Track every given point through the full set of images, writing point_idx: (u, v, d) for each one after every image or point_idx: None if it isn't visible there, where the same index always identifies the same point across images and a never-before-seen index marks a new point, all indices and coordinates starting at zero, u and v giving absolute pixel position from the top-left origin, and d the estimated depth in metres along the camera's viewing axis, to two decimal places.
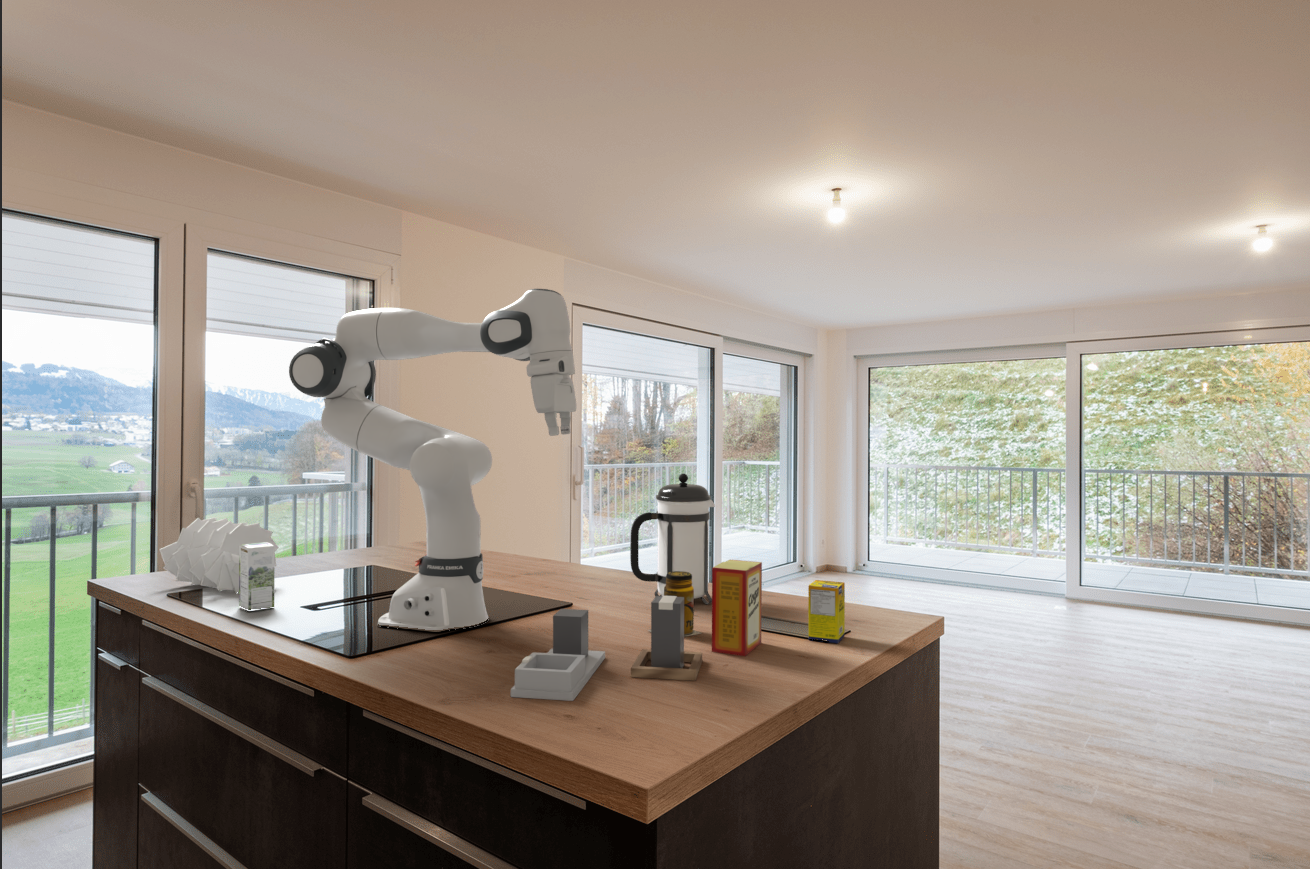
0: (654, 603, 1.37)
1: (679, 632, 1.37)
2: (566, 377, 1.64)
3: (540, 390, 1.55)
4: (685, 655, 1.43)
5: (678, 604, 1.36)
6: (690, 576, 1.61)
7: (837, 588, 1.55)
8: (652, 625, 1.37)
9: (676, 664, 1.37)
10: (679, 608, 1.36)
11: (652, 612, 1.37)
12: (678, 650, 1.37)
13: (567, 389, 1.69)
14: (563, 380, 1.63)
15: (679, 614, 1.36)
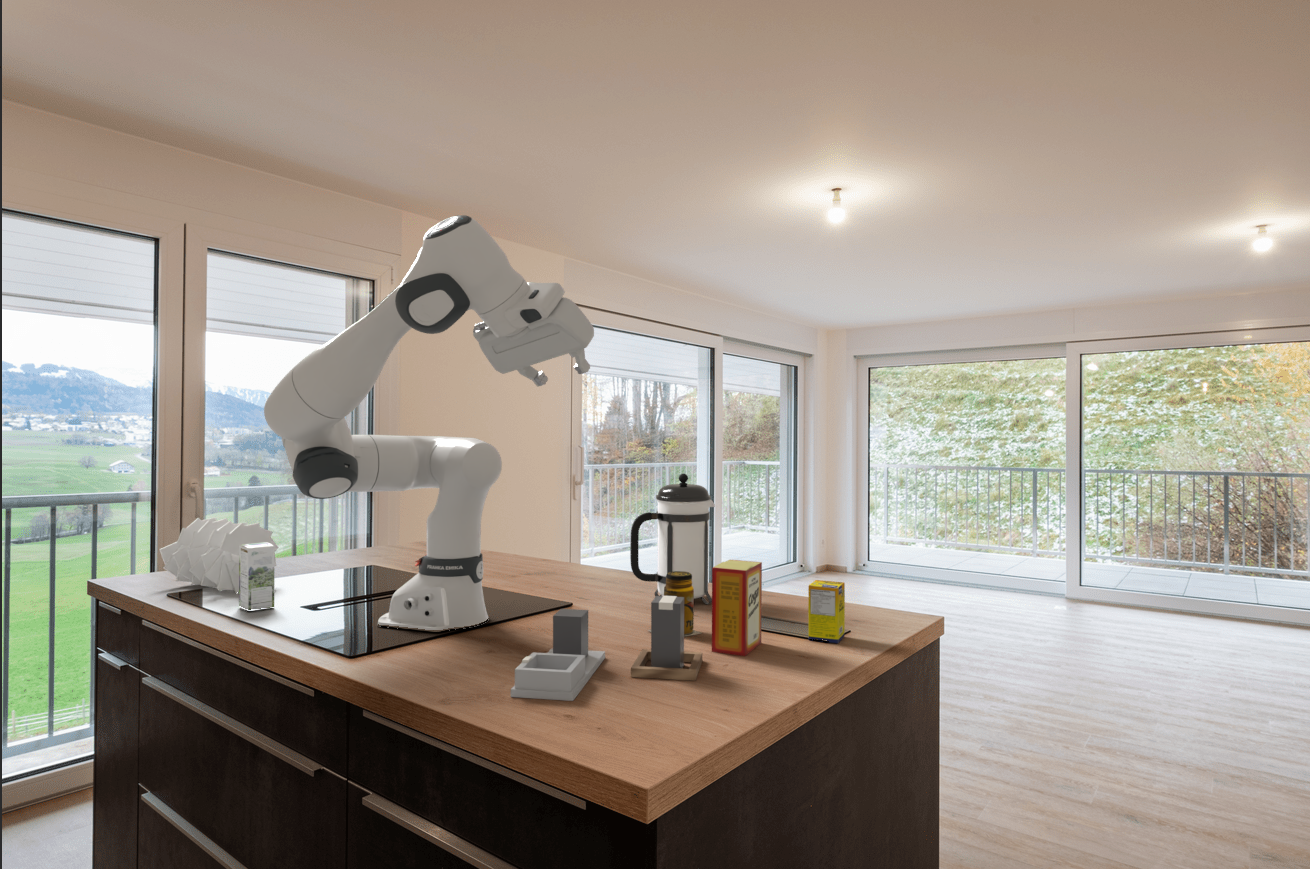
0: (654, 603, 1.37)
1: (679, 632, 1.37)
2: None
3: (575, 320, 1.19)
4: (685, 655, 1.43)
5: (678, 604, 1.36)
6: (690, 576, 1.61)
7: (837, 588, 1.55)
8: (652, 625, 1.37)
9: (676, 664, 1.37)
10: (679, 608, 1.36)
11: (652, 612, 1.37)
12: (678, 650, 1.37)
13: None
14: None
15: (679, 614, 1.36)
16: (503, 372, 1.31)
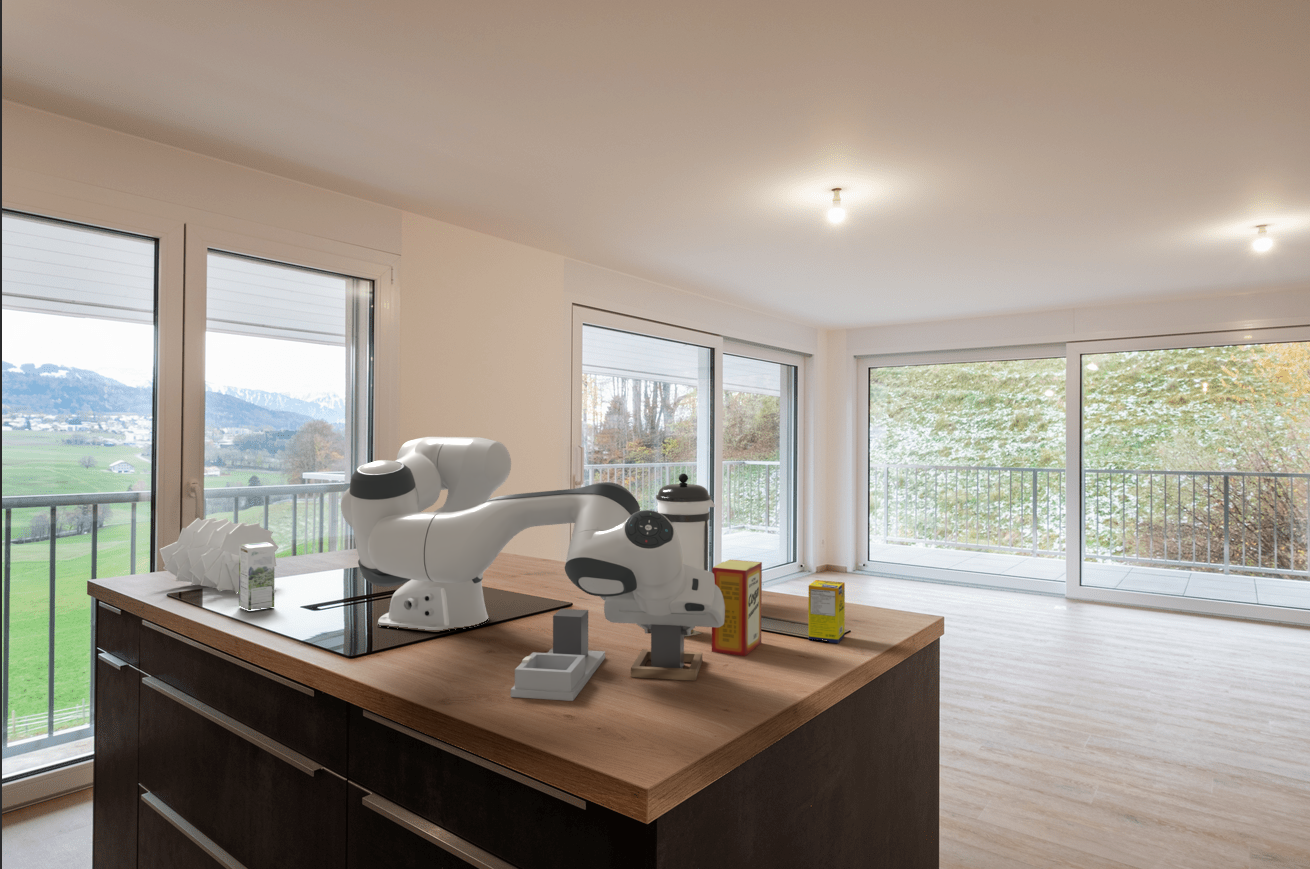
0: None
1: (679, 632, 1.37)
2: None
3: (721, 607, 1.32)
4: (685, 655, 1.43)
5: None
6: None
7: (837, 588, 1.55)
8: (652, 625, 1.37)
9: (676, 664, 1.37)
10: None
11: None
12: (678, 650, 1.37)
13: None
14: None
15: None
16: (613, 622, 1.37)
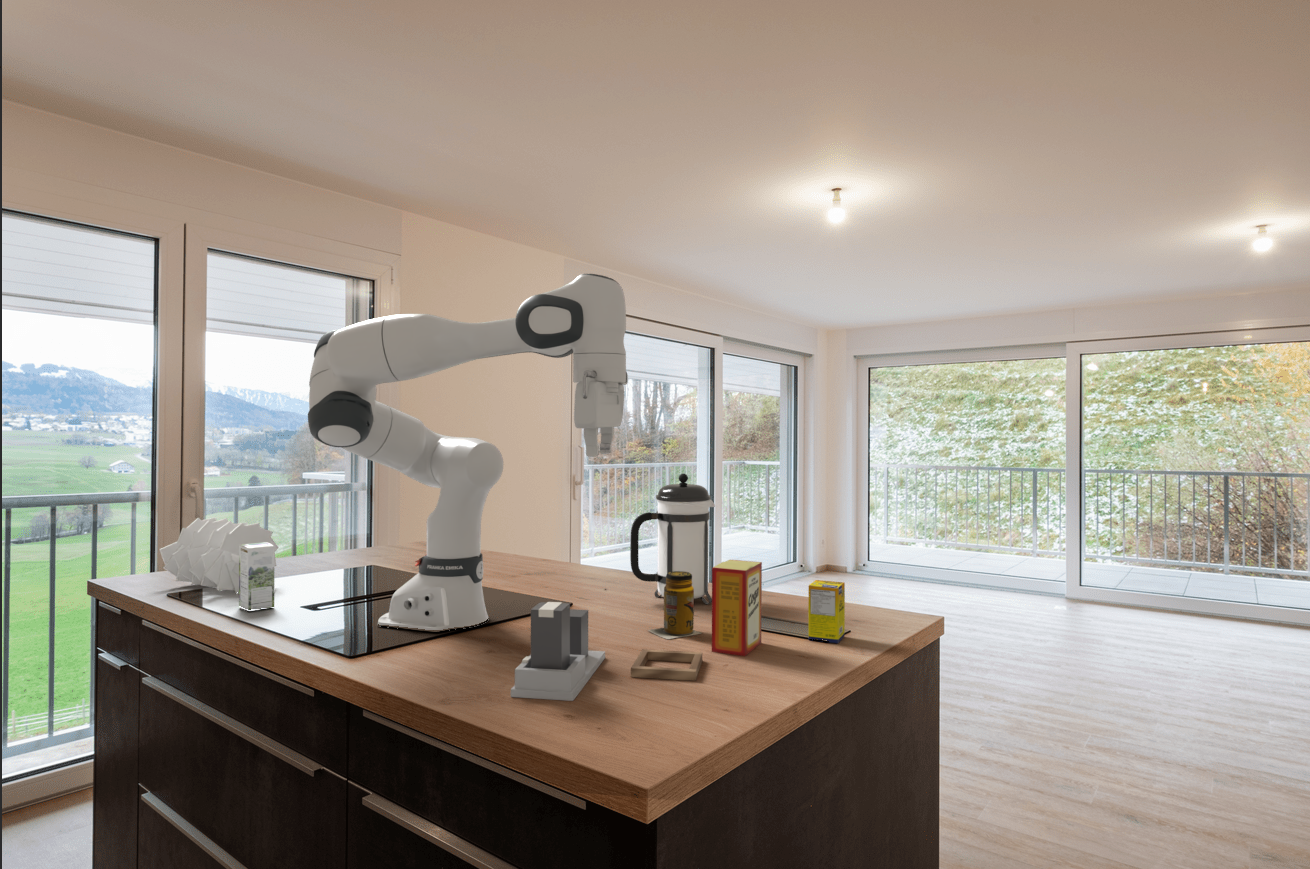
0: (534, 610, 1.27)
1: (560, 641, 1.26)
2: None
3: None
4: (685, 655, 1.43)
5: (559, 611, 1.26)
6: (690, 576, 1.61)
7: (837, 588, 1.55)
8: (532, 634, 1.27)
9: None
10: (560, 616, 1.26)
11: (532, 620, 1.27)
12: (559, 661, 1.26)
13: (584, 399, 1.31)
14: None
15: (560, 622, 1.26)
16: (597, 425, 1.26)
